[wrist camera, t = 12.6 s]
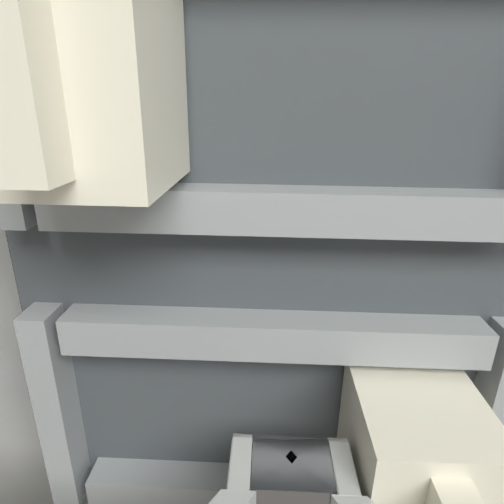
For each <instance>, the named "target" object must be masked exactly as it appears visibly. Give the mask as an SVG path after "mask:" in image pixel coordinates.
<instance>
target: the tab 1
mask: <svg viewBox="0 0 504 504" xmlns="http://www.w3.org/2000/svg"><path fill="white" fill-rule="evenodd" d="M189 172H190V156H189V132H188V107H187V83H186V59H185V34H184V10H183V0H0V204H39V205H83V206H127V207H149V206H150V205H151V204H153V203H154V202H155V201H156V200H157V199H158V198H160V197H161V196H162V195H163V194H164V193H165V192H166V191H168V190H169V189H170V188H171V187H172V186H173V185H175V184H176V183H177V182H178V181H179V180H180V179H182V178H183V177H184V176H185V175H186V174H187V173H189Z"/></svg>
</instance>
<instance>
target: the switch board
mask: <svg viewBox="0 0 504 504" xmlns="http://www.w3.org/2000/svg"><path fill="white" fill-rule="evenodd" d="M183 10H184V34H185V59H186V83H187V107H188V132H189V156H190V172H189V173H187V174H186V175H185V176H184V177H183V178H182V179H180V180H179V181H178V182H177V183H176V184H175V185H173V186H172V187H171V188H170V189H169V190H168V191H166V192H165V193H164V194H163V195H162V196H161V197H160V198H158V199H157V200H156V201H155V202H154V203H153V204H151V205H150V206H149V207H127V206H83V205H39V204H0V230H5V233H6V237H7V242H8V247H9V251H10V256H11V261H12V266H13V270H14V275H15V280H16V284H17V289H18V294H19V298H20V303H21V308H22V313H21V314H20V315H18V316H17V317H16V318H15V319H14V320H13V324H14V329H15V333H16V338H17V342H18V347H19V351H20V356H21V360H22V365H23V369H24V373H25V378H26V382H27V387H28V391H29V396H30V400H31V405H32V409H33V414H34V418H35V423H36V427H37V432H38V436H39V440H40V445H41V449H42V454H43V458H44V463H45V467H46V472H47V476H48V481H49V485H50V490H51V494H52V499H53V503H54V504H208V503H209V502H210V501H211V500H212V498H213V497H214V496H215V495H216V494H217V492H218V491H219V490H220V489H226V487H227V478H228V469H229V460H230V451H231V443H232V437H233V433H237V434H251V435H253V434H258V435H272V436H287V437H289V436H294V437H325V438H337V430H338V421H339V412H340V403H341V394H342V385H343V376H344V367H345V366H372V367H399V368H427V369H455V370H464V371H465V373H466V374H467V375H468V377H469V378H470V380H471V381H472V382H473V384H474V385H475V387H476V388H477V389H478V391H479V392H480V393H481V395H482V396H483V398H484V399H485V400H486V402H487V403H488V405H489V406H490V407H491V409H492V410H493V411H494V413H495V414H496V416H497V417H498V418H499V420H500V421H501V422H502V424H503V425H504V0H183Z"/></svg>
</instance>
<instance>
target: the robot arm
mask: <svg viewBox="0 0 504 504" xmlns="http://www.w3.org/2000/svg"><path fill="white" fill-rule="evenodd" d="M208 504H375V503H374V502H373V501H372V500H371V499H370V498H369V497H368V496H362V495H361V490H360V486H359V482H358V478H357V474H356V469H355V465H354V461H353V457H352V453H351V448H350V444H349V441H348V440H347V438H325V437H294V436H289V437H287V436H272V435H258V434H253V435H251V434H237V433H233V437H232V443H231V451H230V460H229V469H228V478H227V487H226V489H220V490H219V491H218V492H217V494H216V495H215V496H214V497H213V498H212V500H211V501H210V502H209V503H208Z"/></svg>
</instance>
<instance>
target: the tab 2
mask: <svg viewBox="0 0 504 504" xmlns="http://www.w3.org/2000/svg"><path fill="white" fill-rule="evenodd" d="M337 438H347V440H348V441H349V444H350V448H351V453H352V457H353V461H354V465H355V469H356V474H357V478H358V482H359V486H360V490H361V495H362V496H368V497H369V498H370V499H371V500H372V501H373V502H374V503H375V504H504V425H503V424H502V422H501V421H500V420H499V418H498V417H497V416H496V414H495V413H494V411H493V410H492V409H491V407H490V406H489V405H488V403H487V402H486V400H485V399H484V398H483V396H482V395H481V393H480V392H479V391H478V389H477V388H476V387H475V385H474V384H473V382H472V381H471V380H470V378H469V377H468V375H467V374H466V373H465V371H464V370H455V369H427V368H399V367H372V366H345V367H344V376H343V385H342V394H341V403H340V412H339V421H338V430H337Z"/></svg>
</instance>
